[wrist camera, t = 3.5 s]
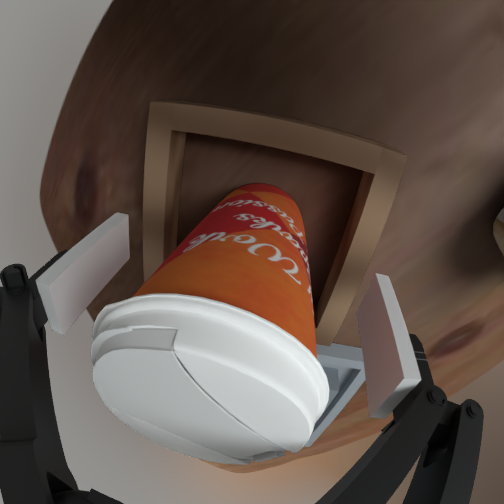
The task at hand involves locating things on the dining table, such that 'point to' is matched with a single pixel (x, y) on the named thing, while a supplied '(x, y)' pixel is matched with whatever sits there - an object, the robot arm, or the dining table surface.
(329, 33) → the dining table surface
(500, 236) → the ceramic mug
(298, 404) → the paper cup
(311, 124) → the walnut collar
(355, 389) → the grey tray
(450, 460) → the robot arm
